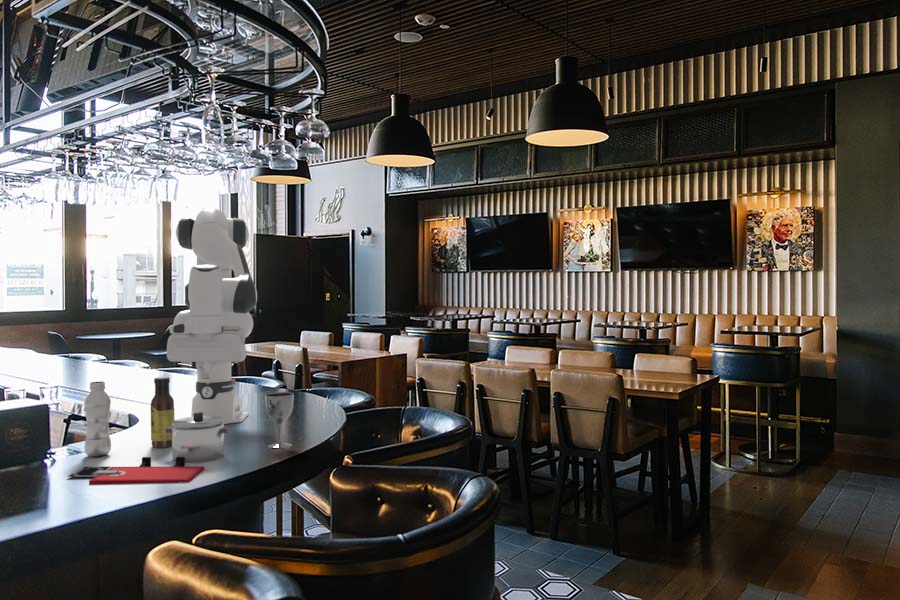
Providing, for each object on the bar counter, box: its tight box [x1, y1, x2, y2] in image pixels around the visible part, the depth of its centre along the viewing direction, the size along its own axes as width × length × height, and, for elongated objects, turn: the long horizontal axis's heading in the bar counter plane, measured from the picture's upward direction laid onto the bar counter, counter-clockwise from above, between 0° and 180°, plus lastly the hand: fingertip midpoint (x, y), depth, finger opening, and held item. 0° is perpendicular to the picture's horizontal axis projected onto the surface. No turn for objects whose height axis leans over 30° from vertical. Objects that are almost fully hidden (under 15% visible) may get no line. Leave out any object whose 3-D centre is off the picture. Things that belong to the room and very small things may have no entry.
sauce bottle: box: [150, 376, 175, 449], centre depth 189 cm, size 6×6×20 cm
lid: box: [172, 412, 224, 429], centre depth 176 cm, size 13×13×3 cm
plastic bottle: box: [83, 381, 112, 457], centre depth 178 cm, size 6×7×20 cm
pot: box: [166, 423, 232, 464], centre depth 177 cm, size 14×17×8 cm
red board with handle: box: [66, 456, 205, 485], centre depth 158 cm, size 30×3×15 cm
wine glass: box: [264, 391, 295, 449], centre depth 188 cm, size 8×8×15 cm
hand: (206, 378), depth 172 cm, fingers closed
